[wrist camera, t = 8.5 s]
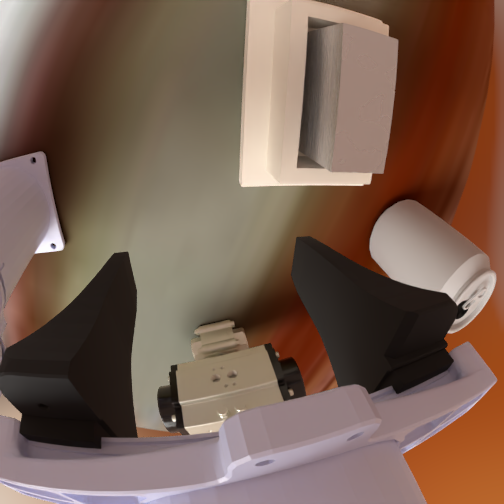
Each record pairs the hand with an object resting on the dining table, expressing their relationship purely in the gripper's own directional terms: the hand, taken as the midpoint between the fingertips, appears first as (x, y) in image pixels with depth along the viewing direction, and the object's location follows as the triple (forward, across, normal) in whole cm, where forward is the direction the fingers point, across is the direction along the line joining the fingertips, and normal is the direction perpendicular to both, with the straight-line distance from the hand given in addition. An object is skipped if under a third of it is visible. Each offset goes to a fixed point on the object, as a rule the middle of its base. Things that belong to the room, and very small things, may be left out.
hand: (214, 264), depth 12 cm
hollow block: (+10, -8, -7) cm, 15 cm away
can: (+10, -19, +5) cm, 22 cm away
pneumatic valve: (+10, -1, +15) cm, 18 cm away
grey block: (+9, -8, -7) cm, 14 cm away
